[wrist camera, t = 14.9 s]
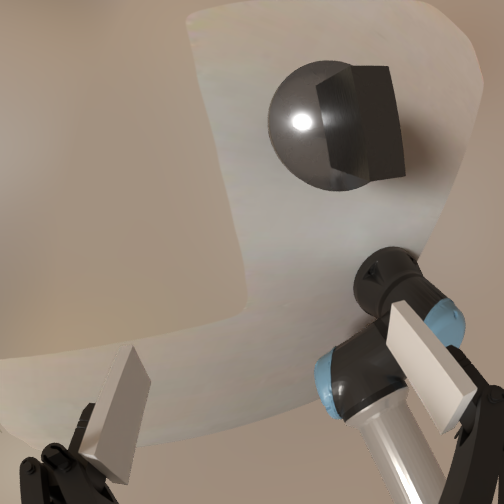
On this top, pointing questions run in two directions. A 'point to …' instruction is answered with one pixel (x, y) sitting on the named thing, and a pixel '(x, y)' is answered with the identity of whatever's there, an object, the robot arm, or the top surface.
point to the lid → (337, 125)
